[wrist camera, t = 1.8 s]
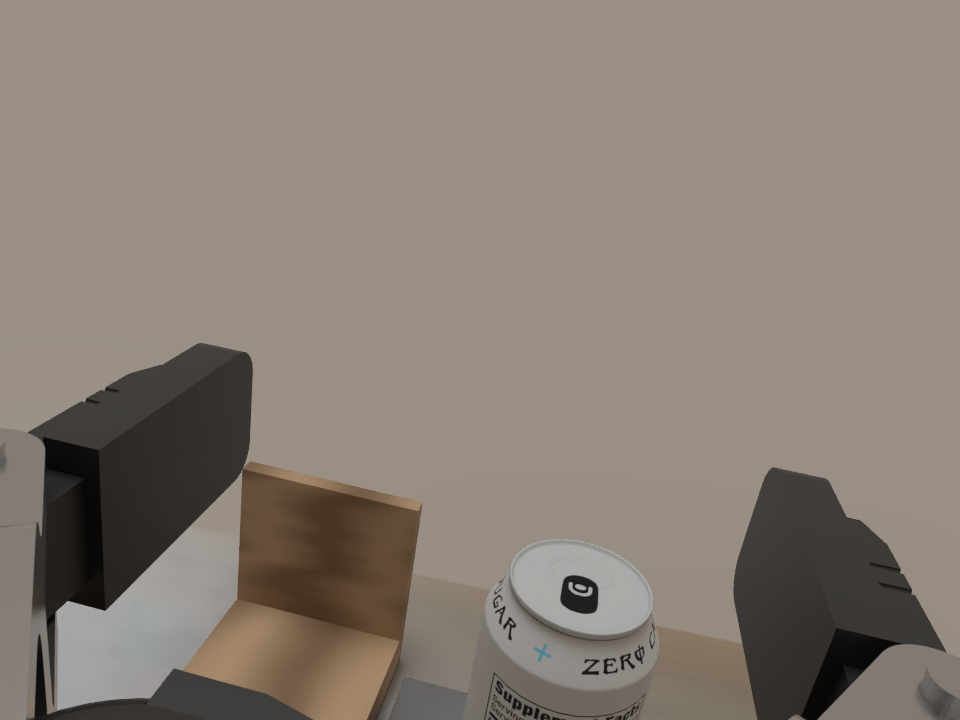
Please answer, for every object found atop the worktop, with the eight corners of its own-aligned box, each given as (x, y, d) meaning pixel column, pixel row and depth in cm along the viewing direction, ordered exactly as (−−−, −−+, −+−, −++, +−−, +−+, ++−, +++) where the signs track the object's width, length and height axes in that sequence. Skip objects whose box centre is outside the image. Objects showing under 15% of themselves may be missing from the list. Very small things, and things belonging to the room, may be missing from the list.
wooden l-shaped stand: (147, 751, 34) (144, 567, 30) (243, 618, 42) (250, 461, 38) (340, 808, 33) (361, 624, 29) (399, 659, 41) (422, 502, 37)
